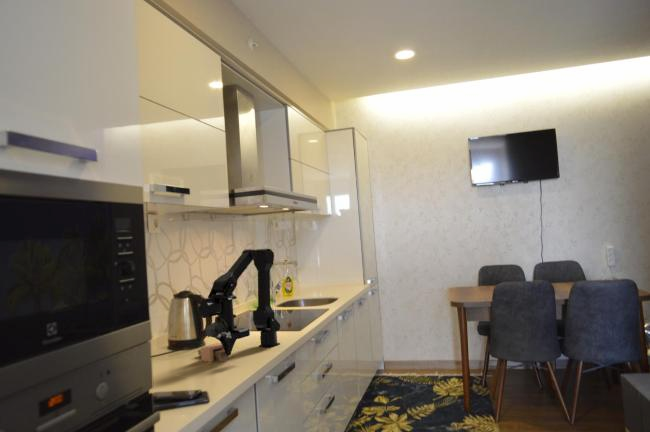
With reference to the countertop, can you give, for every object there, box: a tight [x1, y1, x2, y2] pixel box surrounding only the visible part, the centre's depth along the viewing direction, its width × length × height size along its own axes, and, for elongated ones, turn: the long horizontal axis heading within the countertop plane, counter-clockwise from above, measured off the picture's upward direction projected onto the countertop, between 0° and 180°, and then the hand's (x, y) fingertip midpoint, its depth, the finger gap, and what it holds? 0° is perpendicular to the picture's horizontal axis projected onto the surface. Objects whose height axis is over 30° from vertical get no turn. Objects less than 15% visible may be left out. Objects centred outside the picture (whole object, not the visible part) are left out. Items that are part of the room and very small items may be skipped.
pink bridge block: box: [200, 342, 224, 362], centre depth 179 cm, size 8×5×5 cm, turn 144°
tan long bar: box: [197, 348, 230, 362], centre depth 180 cm, size 15×3×3 cm, turn 52°
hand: (228, 355), depth 175 cm, fingers closed
